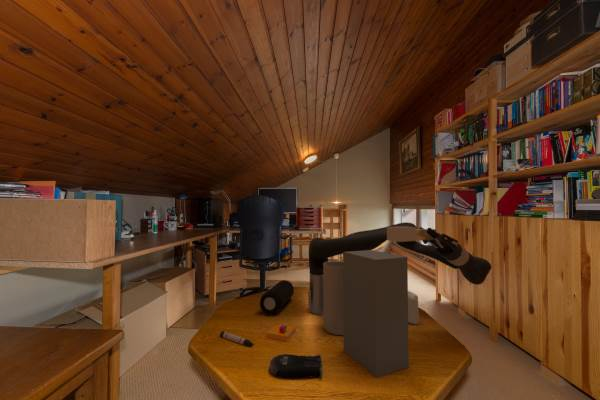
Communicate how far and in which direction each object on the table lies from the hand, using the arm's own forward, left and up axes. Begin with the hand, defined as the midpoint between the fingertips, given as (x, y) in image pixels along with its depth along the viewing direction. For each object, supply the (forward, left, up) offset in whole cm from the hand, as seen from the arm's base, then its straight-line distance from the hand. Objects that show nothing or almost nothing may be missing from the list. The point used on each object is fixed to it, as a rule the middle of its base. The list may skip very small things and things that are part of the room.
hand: (424, 229), depth 94 cm
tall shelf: (-17, -14, -39) cm, 45 cm away
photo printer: (-4, +20, -40) cm, 44 cm away
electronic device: (-39, -27, -40) cm, 62 cm away
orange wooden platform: (-50, -8, -40) cm, 65 cm away
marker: (-63, -16, -40) cm, 77 cm away
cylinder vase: (-30, +4, -39) cm, 50 cm away
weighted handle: (-4, -4, -3) cm, 7 cm away
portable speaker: (-62, +21, -40) cm, 76 cm away
